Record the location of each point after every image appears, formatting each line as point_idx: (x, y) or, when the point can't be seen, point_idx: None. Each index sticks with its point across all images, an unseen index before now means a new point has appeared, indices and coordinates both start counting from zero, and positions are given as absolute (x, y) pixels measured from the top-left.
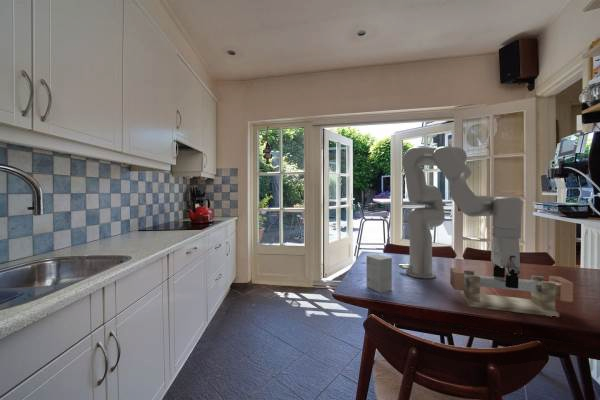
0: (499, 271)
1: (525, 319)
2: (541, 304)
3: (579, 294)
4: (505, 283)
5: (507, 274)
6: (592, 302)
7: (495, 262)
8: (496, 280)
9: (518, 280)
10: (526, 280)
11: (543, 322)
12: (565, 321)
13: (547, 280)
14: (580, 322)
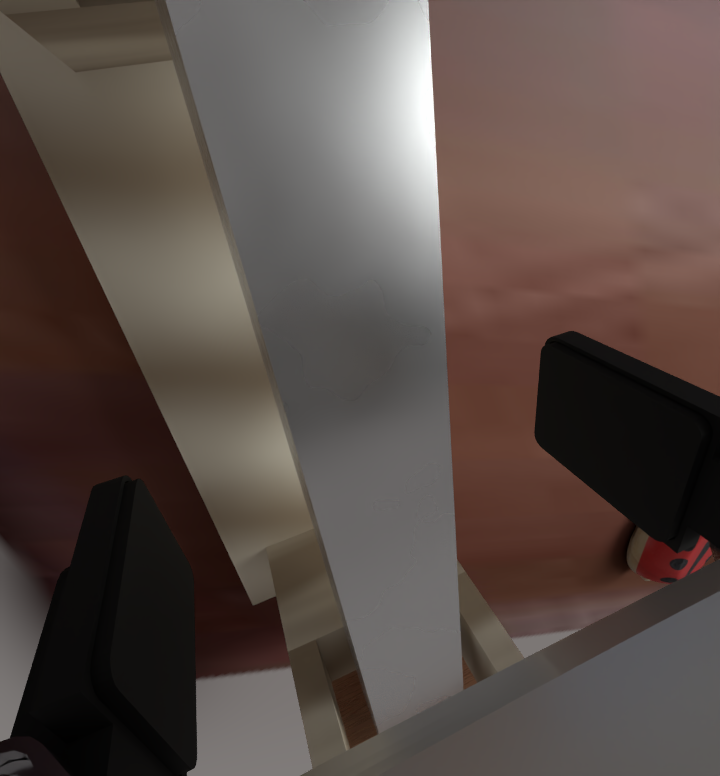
0: (617, 445)
1: (28, 455)
2: (289, 564)
3: (598, 599)
4: (111, 510)
5: (23, 763)
6: (523, 633)
7: (684, 701)
8: (274, 375)
9: (386, 600)
10: (423, 643)
11: (72, 539)
12: (200, 606)
13: (691, 552)
14: (237, 643)
